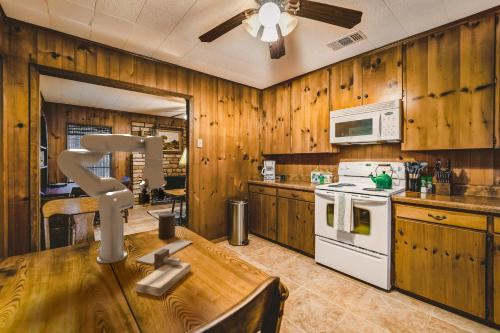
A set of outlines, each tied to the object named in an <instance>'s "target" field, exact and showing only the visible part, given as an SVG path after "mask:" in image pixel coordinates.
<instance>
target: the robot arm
mask: <svg viewBox="0 0 500 333" xmlns="http://www.w3.org/2000/svg"><path fill="white" fill-rule="evenodd" d="M163 142H164V139H163V138H162V137H160V136H156V135H154V136H151V135H150V136H146V137H145V136H139V135H132V134H111V133H109V134H107V133H87V134H84V135H83V136H81V137H80V139H79V145H80V146H81V148H83V149H79V148H75V149H73V148H70V149H65V150H62V151H61V152H60V153H59V154H58V156H57V164H58V165H57V166H58V167H59V169H60V171H61V173H63V175H64V176H65V177H67V178H68V179H69V180H71V181H73V183H75V184H76V185H77V186H78V187H79V188H80V189H81V190H82V191H84V193H86V194H87V195H88V196H89V197H91V198H93V199H98V200H97V209H98V211H99V212H98V213H99V220H100V226H99V228H100V246H99V247H98V249H96V250H95V253H97V254H98V256H97V258H96V262H97V263H98V264H112V263H117V262H120V261H123V260H124V259H126V258H127V257H128V252H127V251H125V250H124V249H125V246H124V242H125V239H124V230H125V229H124V228H125V227H124V217H123V214H122V213H121V211H122V210H125V209H129V208H131V207H132V206H133V205H134V204H135V203H136V202H135V201H136V197H135V194H134V193H133V192H132V191H131V190H130V189H129V188H128V187H127V186H126V185H124V184H123V183H122V182H121V181H119V179H118V178H114V177H111V176H110V177H100V176H98V175H97V174H95V173H94V172H93V171H92V170H91V169H89V168H86V167H93V166H96V165H98V164H99V163H100V162H101V161H102V160H103V159H104V158H105V157H107V156H106V155H108V154H109V153H115V152H118V153H119V152H122V153H124V152H125V153H138V154H139V153H140V154H141V153H142V154H144V166H143V169H142V174H141V175H142V176H141V183H140V184H138V187H139V190H140V192H141V194H142V203H143V204H151V194H150V193H151V190H158V191H157V200H160V201H163V200H165V191H166V187H167V183H168V181H167V180H165V172H164V166H163V165H164V164H163V163H164V161H163V160H164V159H163V157H164V156H163V155H164V154H163V153H164V150H163V149H164V147H163V146H164V145H163V144H164V143H163Z"/></svg>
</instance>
